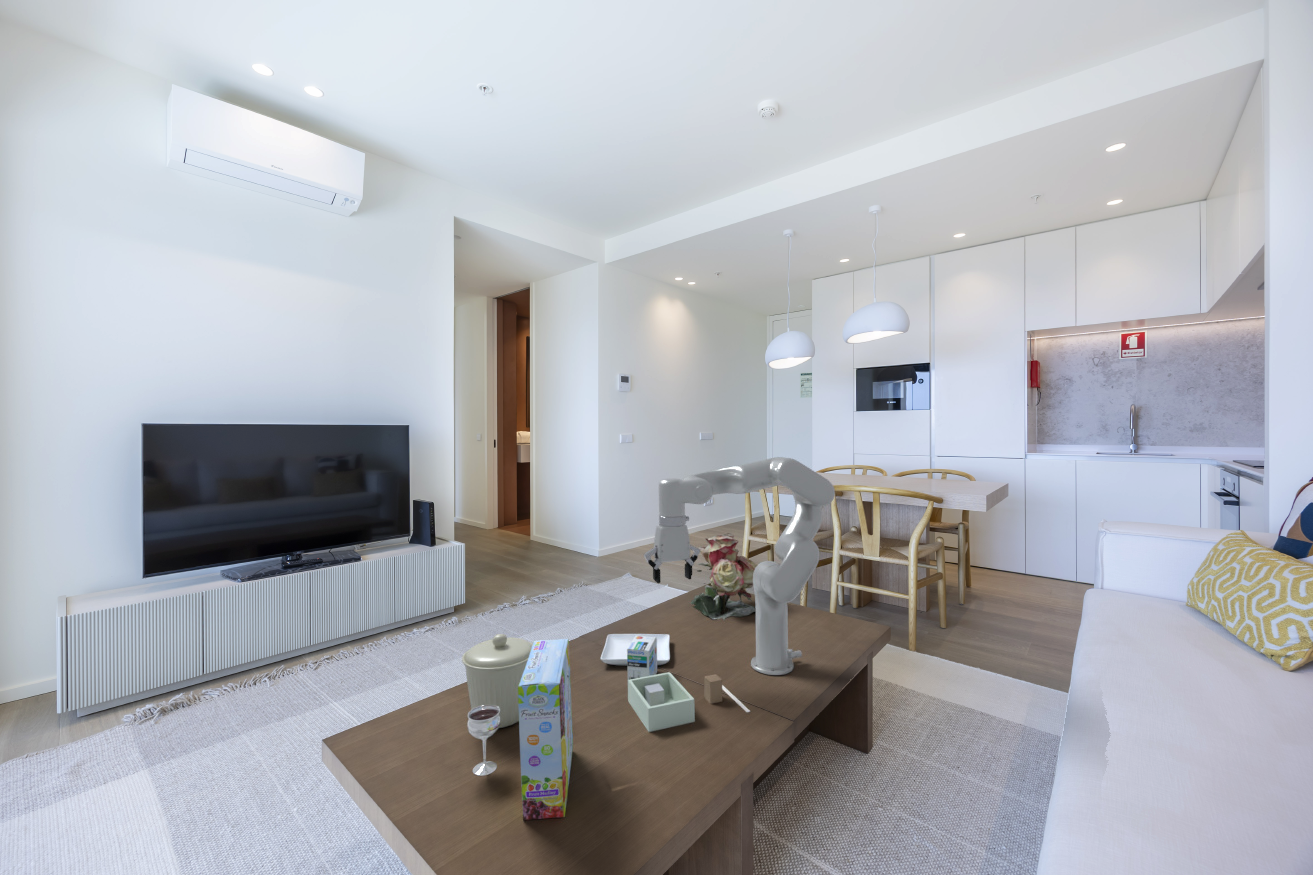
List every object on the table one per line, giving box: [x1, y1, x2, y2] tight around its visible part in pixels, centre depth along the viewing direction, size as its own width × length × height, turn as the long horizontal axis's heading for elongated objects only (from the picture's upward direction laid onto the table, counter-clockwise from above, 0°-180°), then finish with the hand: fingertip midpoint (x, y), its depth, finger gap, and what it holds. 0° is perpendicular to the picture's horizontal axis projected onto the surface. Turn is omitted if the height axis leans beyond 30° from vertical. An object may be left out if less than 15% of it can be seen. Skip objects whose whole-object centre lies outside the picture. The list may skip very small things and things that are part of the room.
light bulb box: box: [626, 636, 658, 681], centre depth 156 cm, size 11×7×11 cm, turn 168°
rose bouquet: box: [683, 532, 758, 620], centre depth 217 cm, size 26×29×30 cm
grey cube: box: [645, 683, 664, 706], centre depth 141 cm, size 4×4×4 cm
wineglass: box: [466, 705, 501, 777], centre depth 115 cm, size 7×7×12 cm
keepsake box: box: [627, 672, 696, 733], centre depth 137 cm, size 16×12×6 cm
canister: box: [461, 633, 533, 729], centre depth 136 cm, size 18×18×21 cm
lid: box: [703, 673, 751, 713], centre depth 143 cm, size 17×13×7 cm
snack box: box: [518, 638, 574, 821], centre depth 110 cm, size 22×9×26 cm, turn 5°
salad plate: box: [600, 633, 671, 666], centre depth 173 cm, size 21×21×3 cm
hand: (672, 580), depth 157 cm, fingers open, 9 cm apart
